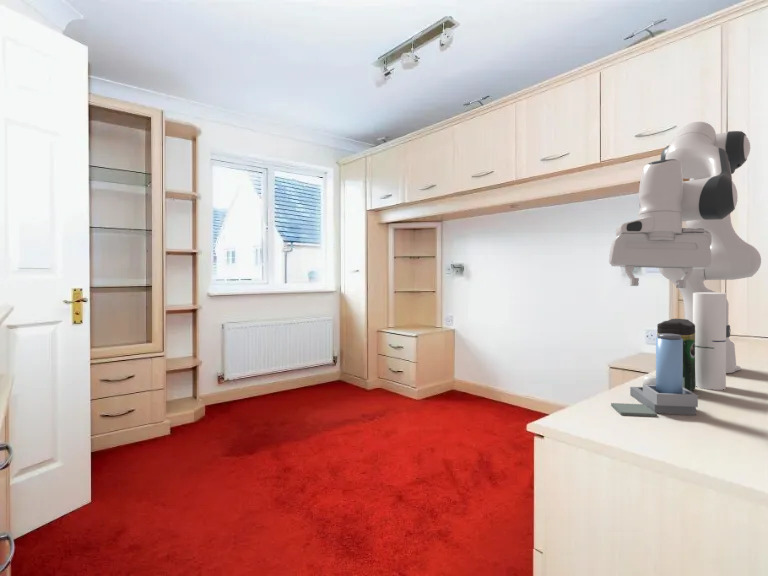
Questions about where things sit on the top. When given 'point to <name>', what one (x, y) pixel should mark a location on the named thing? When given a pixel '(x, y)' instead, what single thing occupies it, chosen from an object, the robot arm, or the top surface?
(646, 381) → the white rounded piece
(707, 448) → the top surface
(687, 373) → the coffee jar
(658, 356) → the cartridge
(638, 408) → the mat
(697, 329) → the cylindrical container
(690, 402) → the frame
